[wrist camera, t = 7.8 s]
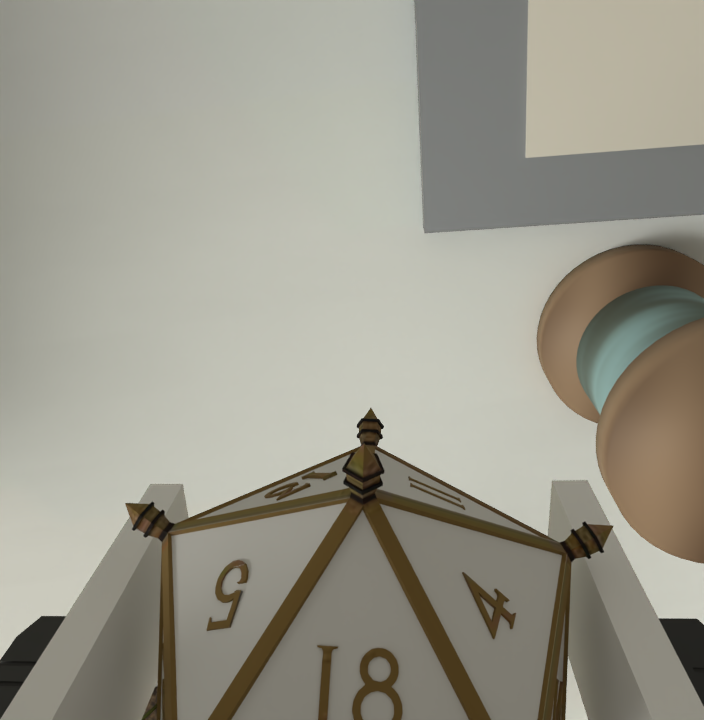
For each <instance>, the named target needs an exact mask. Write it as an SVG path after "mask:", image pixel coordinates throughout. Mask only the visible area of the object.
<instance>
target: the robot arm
mask: <svg viewBox="0 0 704 720" xmlns="http://www.w3.org/2000/svg"><path fill="white" fill-rule="evenodd" d="M151 502H154V507H155V508H157V509H158V510H159V511H161V510H164V511H165V514H164V515H165V516H166V518H167V519H168V520H169V522H171V523H174V524H176V523H178V522H181V521H183V520H185V519H188V512H187V506H186V500H185V494H184V488H183V484H150V486H149V488H148V489H147V491H146V492H145V494H144V495H143V497H142V498H141V500H140V502H139V503H138V504H150V503H151ZM584 521H585V522H586V523H587V524H594V525H610V523H609V521H608V520H607V518H606V516H605V514H604V512H603V510H602V508H601V506H600V504H599V502H598V500H597V498H596V496H595V494H594V492H593V490H592V488H591V486H590V485H589V483H588V481H587V480H579V481H552V488H551V502H550V515H549V528H548V537H550V538H552V539H554V540H556V541H558V542H562V541H565V540H566V539H567V538H568V537H569V536H570V534H571V530H572V529H574V530H575V531H576V530H577V529H579V528H581V527H582V526H583V524H582V523H583V522H584ZM610 526H611V525H610ZM132 528H133V524H132V521H131V518H130V517H129V519H128V520H127V522H126V524H125V525H124V527H123V528H122V530H121V531H120V533H119V534H118V536H117V538H116V539H115V541H114V542H113V544H112V545H111V547H110V549H109V550H108V552H107V553H106V555H105V556H104V558H103V559H102V561H101V563H100V564H99V566H98V567H97V569H96V570H95V572H94V574H93V575H92V577H91V578H90V580H89V581H88V583H87V584H86V586H85V588H84V589H83V591H82V592H81V594H80V595H79V597H78V599H77V600H76V602H75V603H74V605H73V606H72V608H71V609H70V611H69V613H68V614H67V616H41V617H40V618H39V619H38V620H37V621H35V622H34V623H33V624H32V625H30V626H29V627H28V628H27V629H26V630H24V631H23V632H22V633H21V634H20V635H18V636H17V637H16V638H15V640H14V641H13V643H12V644H11V646H10V647H9V648H8V650H7V651H6V653H5V654H4V655H3V657H2V658H1V660H0V720H142V717H143V715H144V713H145V710H146V708H147V705H148V703H149V700H150V698H151V695H152V693H153V691H154V688H155V686H156V683H157V681H158V653H159V619H160V585H161V551H162V542H161V541H160V540H159V539H158V538H155V537H151V536H148V537H146V538H145V537H144V536H143V535H144V533H143V532H141V531H139V530H138V529H136V530H135V531H133V530H132ZM603 550H604V553H600V552H599V551H598V552H596V553H594V554H592V555H590V556H591V558H590V559H588V558H587V557H582V558H577V559H575V560H574V561H573V562H572V564H571V588H570V613H569V637H568V656H569V660H570V663H571V666H572V669H573V672H574V675H575V679H576V682H577V685H578V688H579V691H580V694H581V698H582V701H583V704H584V707H585V710H586V713H587V717H588V720H704V625H703V624H702V623H701V622H700V621H699V620H698V619H658V617H657V615H656V613H655V611H654V609H653V607H652V605H651V603H650V601H649V599H648V597H647V595H646V593H645V591H644V589H643V588H642V586H641V584H640V582H639V580H638V578H637V576H636V574H635V572H634V570H633V568H632V566H631V564H630V562H629V560H628V558H627V556H626V555H625V553H624V551H623V549H622V547H621V545H620V543H619V541H618V539H617V537H616V535H615V533H614V531H613V529H612V530H611V532H610V534H609V536H608V538H607V540H606V543H605V545H604V547H603Z"/></svg>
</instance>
